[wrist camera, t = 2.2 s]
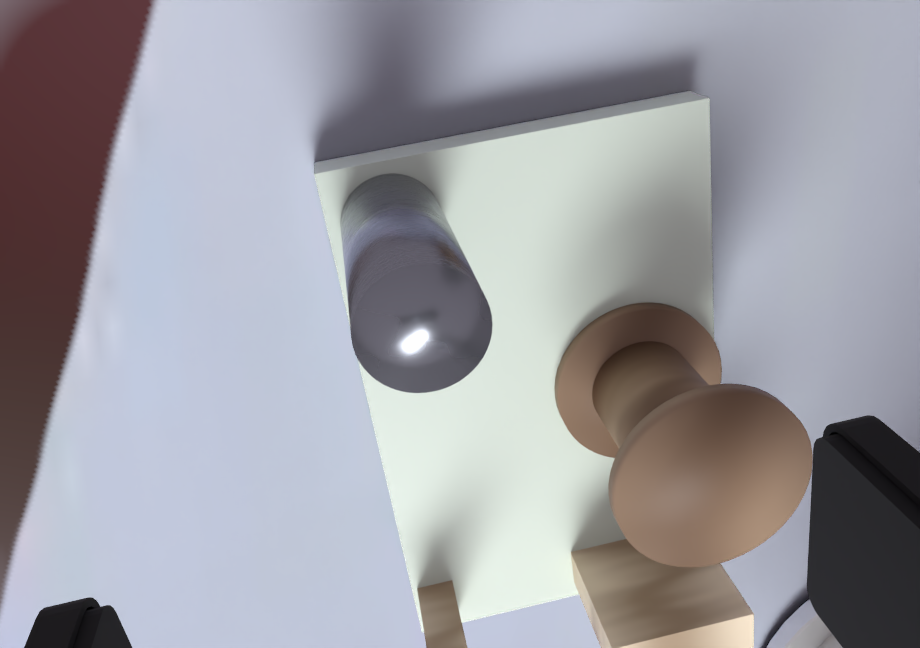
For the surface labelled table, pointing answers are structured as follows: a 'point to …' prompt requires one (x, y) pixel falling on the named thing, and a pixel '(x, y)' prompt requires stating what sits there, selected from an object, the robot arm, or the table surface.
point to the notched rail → (627, 603)
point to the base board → (533, 331)
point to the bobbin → (680, 437)
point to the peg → (410, 288)
